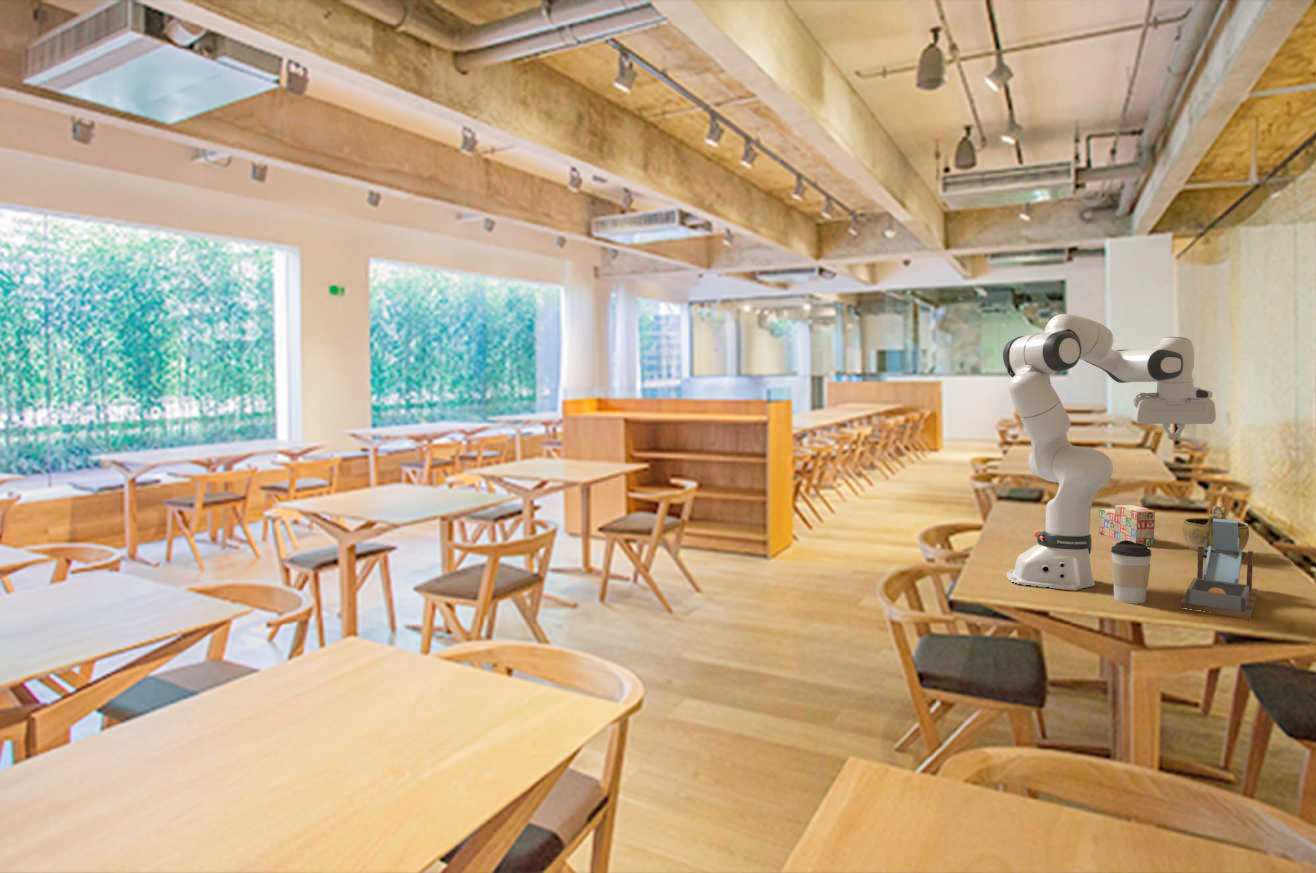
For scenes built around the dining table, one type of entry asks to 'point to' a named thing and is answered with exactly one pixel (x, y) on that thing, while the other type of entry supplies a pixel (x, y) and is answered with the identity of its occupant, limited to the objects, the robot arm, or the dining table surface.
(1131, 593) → the coffee cup
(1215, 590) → the orange ball
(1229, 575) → the tipping lever
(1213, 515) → the ceramic bowl
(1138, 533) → the stack of blocks
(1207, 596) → the bin
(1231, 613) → the walnut lever base
